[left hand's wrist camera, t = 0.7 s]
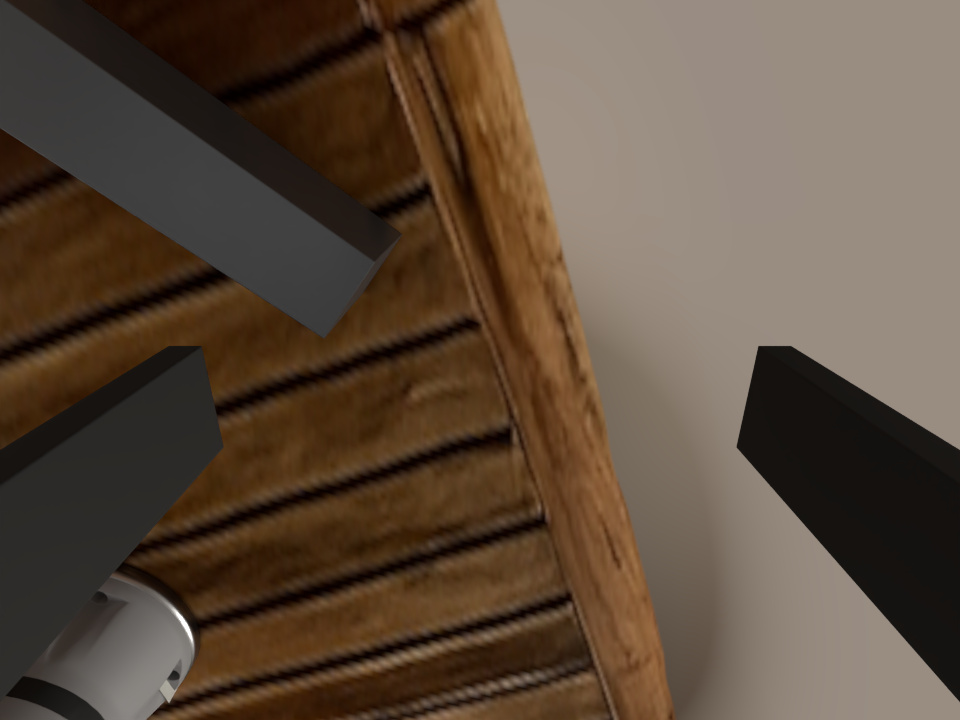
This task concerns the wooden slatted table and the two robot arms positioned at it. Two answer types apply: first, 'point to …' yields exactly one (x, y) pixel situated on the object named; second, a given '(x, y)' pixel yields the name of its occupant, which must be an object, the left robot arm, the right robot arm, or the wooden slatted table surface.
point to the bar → (184, 161)
